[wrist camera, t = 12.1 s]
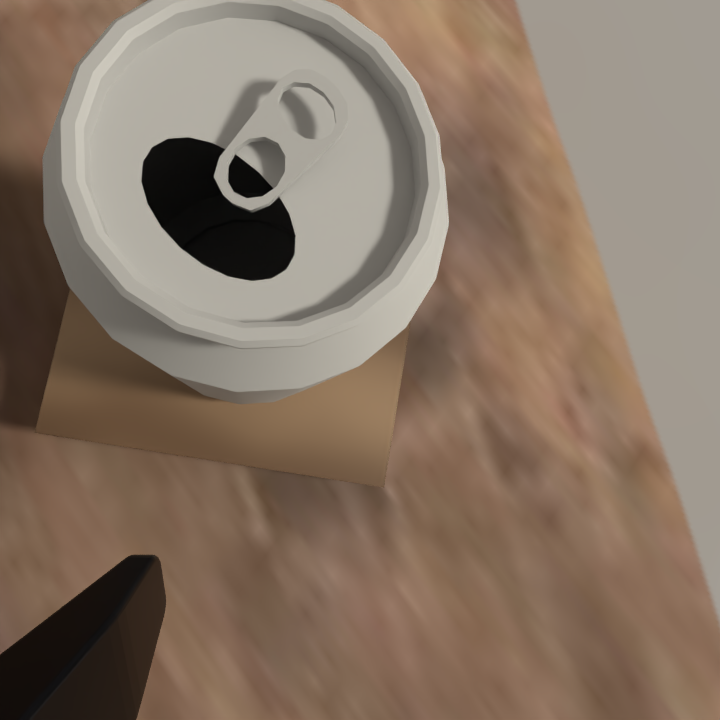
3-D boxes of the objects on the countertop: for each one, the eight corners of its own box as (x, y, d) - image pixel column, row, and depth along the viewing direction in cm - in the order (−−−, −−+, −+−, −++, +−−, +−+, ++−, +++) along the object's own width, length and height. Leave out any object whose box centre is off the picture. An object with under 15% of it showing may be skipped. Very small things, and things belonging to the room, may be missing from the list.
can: (93, 305, 20) (-124, 140, 8) (243, 159, 21) (246, -156, 10) (258, 449, 20) (280, 491, 9) (392, 297, 22) (565, 159, 10)
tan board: (371, 481, 23) (384, 487, 21) (53, 431, 21) (34, 432, 19) (417, 199, 25) (433, 180, 23) (127, 126, 22) (116, 98, 21)
